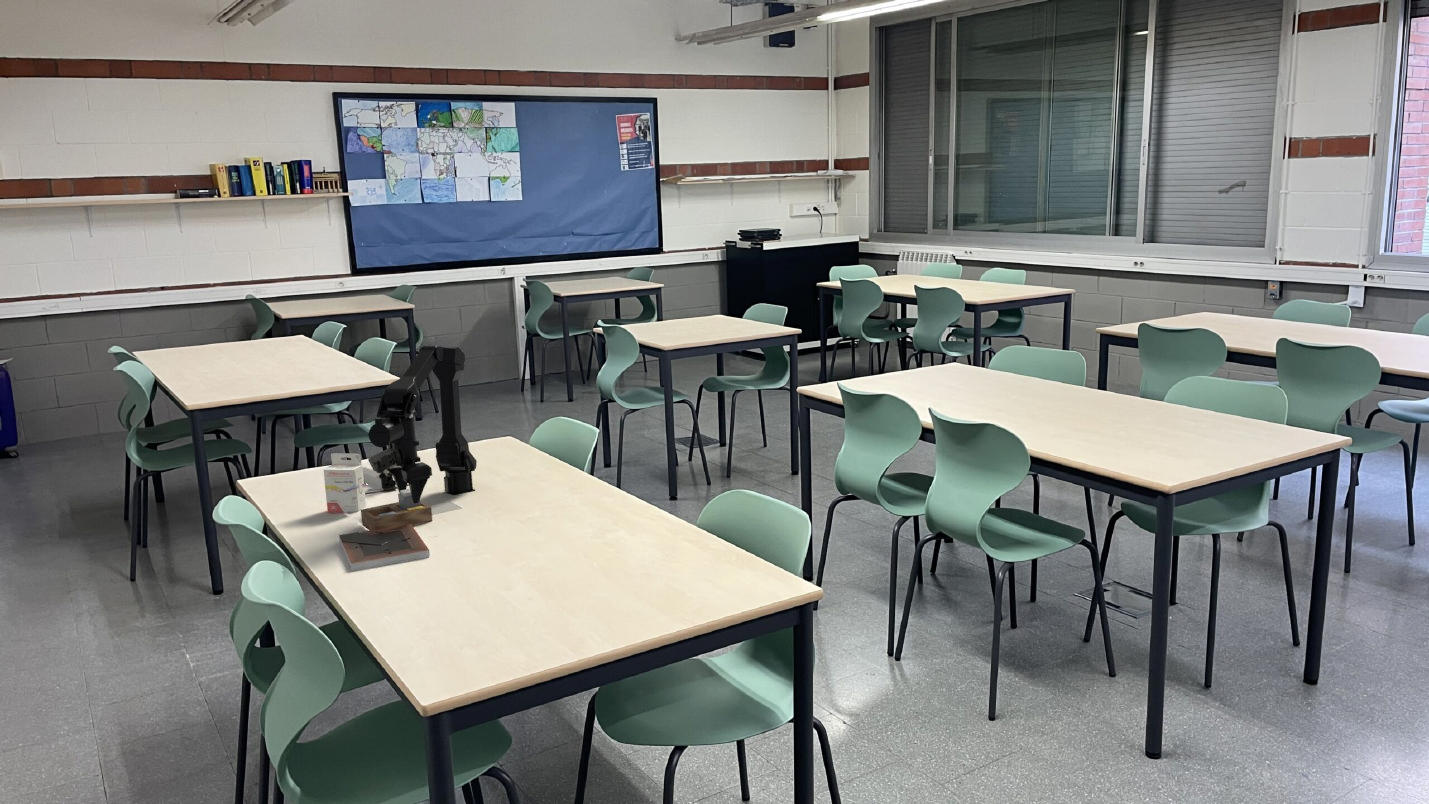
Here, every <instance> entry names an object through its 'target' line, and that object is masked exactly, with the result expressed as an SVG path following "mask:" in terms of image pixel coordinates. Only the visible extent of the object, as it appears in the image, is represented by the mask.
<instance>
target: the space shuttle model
mask: <svg viewBox="0 0 1429 804" xmlns="http://www.w3.org/2000/svg"><path fill="white" fill-rule="evenodd" d="M362 467H363V478H364V489H365V494H370V493H378V492H384V491H388V490H394V489H398V488H397V485H396V483H395V480H394V478H393V475H392V474H391V473H390V472H388V471H387V470H385V471H384V472H382V473H377V472H376V471H374V470H373V468H372V467H368V466H362ZM365 483H367V484H368V485H366V484H365ZM407 486H409V484H408V483H407Z"/></svg>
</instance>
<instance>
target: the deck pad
mask: <svg viewBox="0 0 1429 804" xmlns="http://www.w3.org/2000/svg"><path fill="white" fill-rule="evenodd" d="M429 506H430V507H431V510H432V516H433V515H439V514H443V513H447V512H451V511H457V510H461V509H463V507H462V506H460V505H458V504H456V503H454V502H452V501H445V502H440V503H436V504H431V505H429Z"/></svg>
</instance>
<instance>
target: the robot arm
mask: <svg viewBox="0 0 1429 804" xmlns="http://www.w3.org/2000/svg"><path fill="white" fill-rule="evenodd" d="M465 355H466V354H465V353H464V351H463V350H462V349H461V348H460V347H456V346H455V347H454V346H450V347H449V346H446V347H445V346H439V345H438V344H437V345H436V344H435V345H433V344H432V345H431V344H430V345H429V344H427V345H426V344H423V345H422V346H420V347H419V351H418V354H417V356H416V357H415V358H414V360H413V361H412V362H411V364H410V365H409V367H408V368H407V369H406V371H405V372H404V374H403V375H402V377H400V378H398V379H396V380H395V381H392V382H391V383H390V384H389V385H387V387H386V388H385V389H384V391H383V393H382V395H381V398H380V402H379V406H378V410H377V413H376V418H375V419H374V423H373V425H371V427H370V429H369V430H368V439H369V441H370V443H371V444H372V445H373V446H375V447H377V448H385V447H387V448H386V449H385V450H382V451H379V452H378V453H377V454H374V455H372V456H371V457H369V458H368V459H367V461H368V463H369V465H370V468H371V469H373V470H374V471H376V472H377V473H382V472H384V471H385V470H387V471H388V472H390V473H391V474H392V475H393V476H392V477H393V480H394V481H395V483H396V485H397V488H396V489H397V490H398V494H399V493H400V491H401V490H406V489H407V487H408V489H410V492H411V496H412V499H413V503H414V504H415V503H418V502H419V500H420V501H421V497H422V494H423V491H424V489H425V486H426V484H427V482H428V480H429V479H430V478H431V476H433V469H432V467H431V466H430V465H428V464H427V463H425V462H421V457H420V456H418V448H417V446H418V447H419V446H420V441H419V440H417V438H416V436H417V435H416V426H415V417H416V416H418V415H419V414H418V412H417V411H416V410H415V408H416V406H417V404H418V402H419V400H420V398H421V397H420V388H421V387H422V385H423V384H424V383H425V381H426V379H427V378H428V377H429V375H430V374H431V372H432V373H433V375H434V376H435V377H436V379H437V381H438V382H439V397H440V399H439V400H440V415H441V432H442V435H441V437H440V439H439V441H437V442H436V443H435V459H436V462H437V466H438V469H439V472H444V473H445V474H444V475H445V476H444V477H443V483H444V484H443V485H444V492H445V493H448V494H450V495H452V496H458V495H462V494H467V493H472V492H476V489H475V488H474V487H473V475H472V472H475V471H476V469H477V462H478V461H477V459H476V458H475V457H474V455H473V454H472V453H471V451H470V447H469V442H468V441H467V439H466V437H465V436H464V435H463V434H462V422H461V418H462V417H461V405H460V403H461V402H460V385H459V379H460V378H461V376H462V374H463V373H464V371H465V361H466V356H465ZM407 483H408V484H409V485H407Z"/></svg>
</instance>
